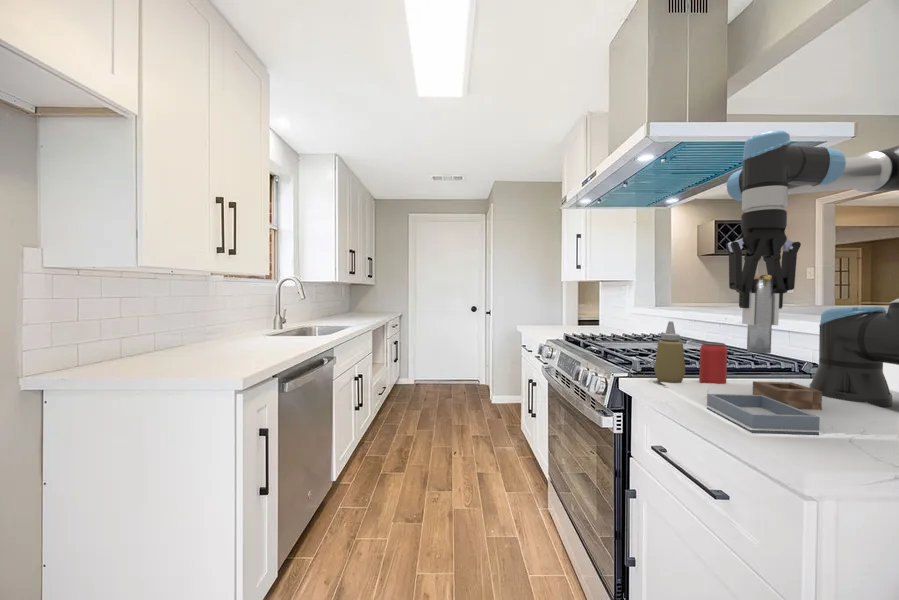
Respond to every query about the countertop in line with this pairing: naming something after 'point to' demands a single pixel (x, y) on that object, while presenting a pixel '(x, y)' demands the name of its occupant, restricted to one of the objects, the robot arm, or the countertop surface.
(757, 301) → the steel pin
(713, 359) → the beer can
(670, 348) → the squeeze bottle
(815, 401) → the block
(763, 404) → the tray
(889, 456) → the countertop surface
